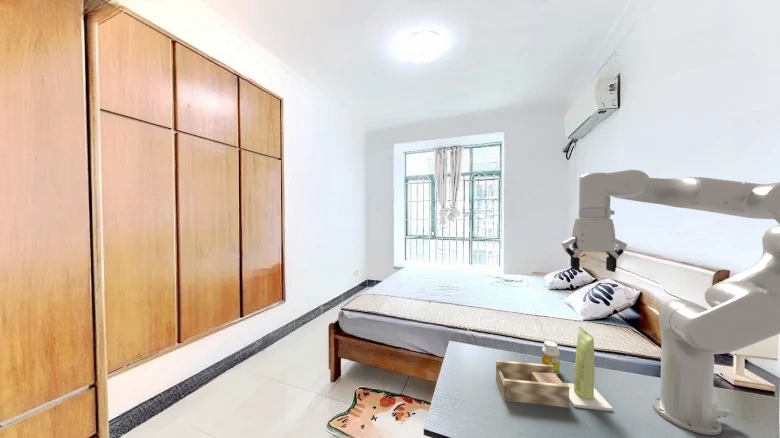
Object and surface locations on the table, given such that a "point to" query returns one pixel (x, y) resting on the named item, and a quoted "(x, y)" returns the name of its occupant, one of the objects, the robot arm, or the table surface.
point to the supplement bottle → (551, 355)
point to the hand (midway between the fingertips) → (592, 270)
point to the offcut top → (545, 377)
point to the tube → (584, 365)
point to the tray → (529, 384)
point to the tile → (588, 400)
